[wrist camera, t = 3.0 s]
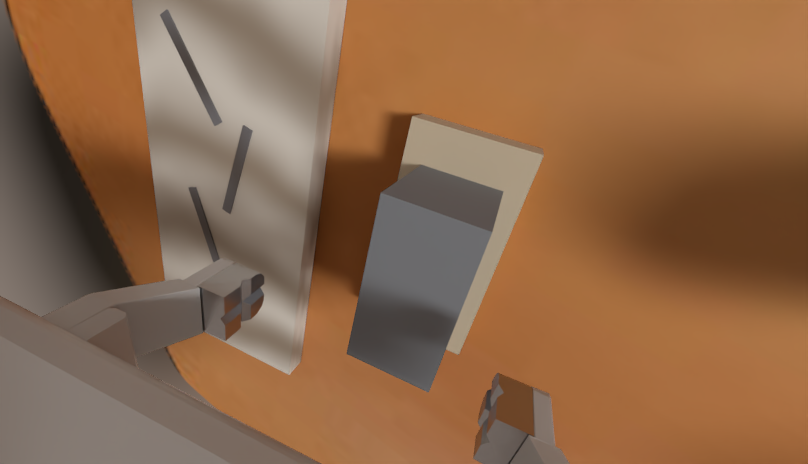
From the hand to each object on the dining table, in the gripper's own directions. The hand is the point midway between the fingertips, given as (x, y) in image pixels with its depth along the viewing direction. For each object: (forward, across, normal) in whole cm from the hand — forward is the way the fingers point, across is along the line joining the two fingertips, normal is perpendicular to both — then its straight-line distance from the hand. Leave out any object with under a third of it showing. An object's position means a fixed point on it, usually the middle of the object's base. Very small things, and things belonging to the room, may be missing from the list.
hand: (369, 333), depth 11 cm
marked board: (+10, +13, 0) cm, 16 cm away
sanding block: (+10, -1, 0) cm, 10 cm away
